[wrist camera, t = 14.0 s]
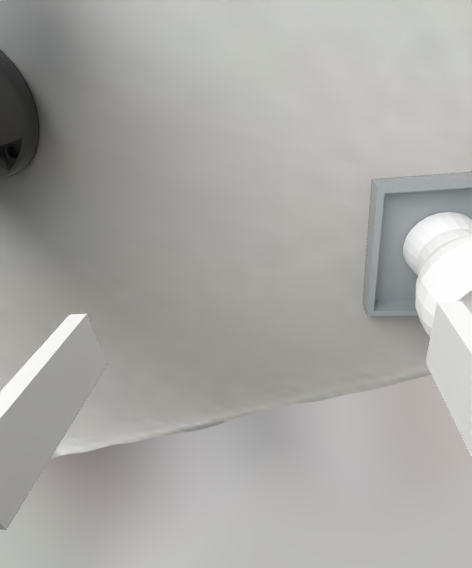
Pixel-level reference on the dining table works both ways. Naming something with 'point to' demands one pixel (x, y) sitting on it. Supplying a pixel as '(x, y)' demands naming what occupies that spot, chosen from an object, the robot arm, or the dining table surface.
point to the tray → (404, 234)
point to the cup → (440, 262)
